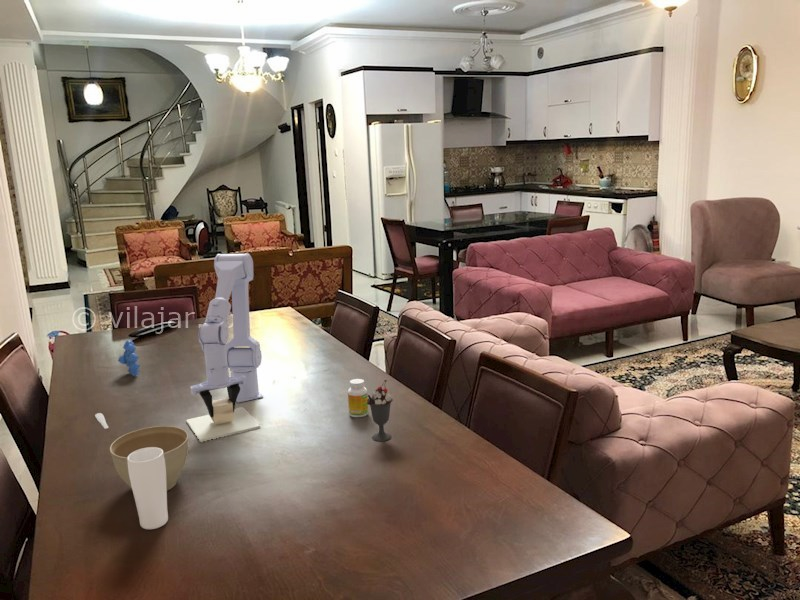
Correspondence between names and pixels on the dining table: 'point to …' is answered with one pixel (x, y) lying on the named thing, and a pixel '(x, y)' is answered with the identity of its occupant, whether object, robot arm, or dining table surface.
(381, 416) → the sundae
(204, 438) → the pad
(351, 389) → the supplement bottle
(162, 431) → the planter bowl
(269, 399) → the dining table surface
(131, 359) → the grapes
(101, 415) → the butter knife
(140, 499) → the drinking glass
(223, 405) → the cube
